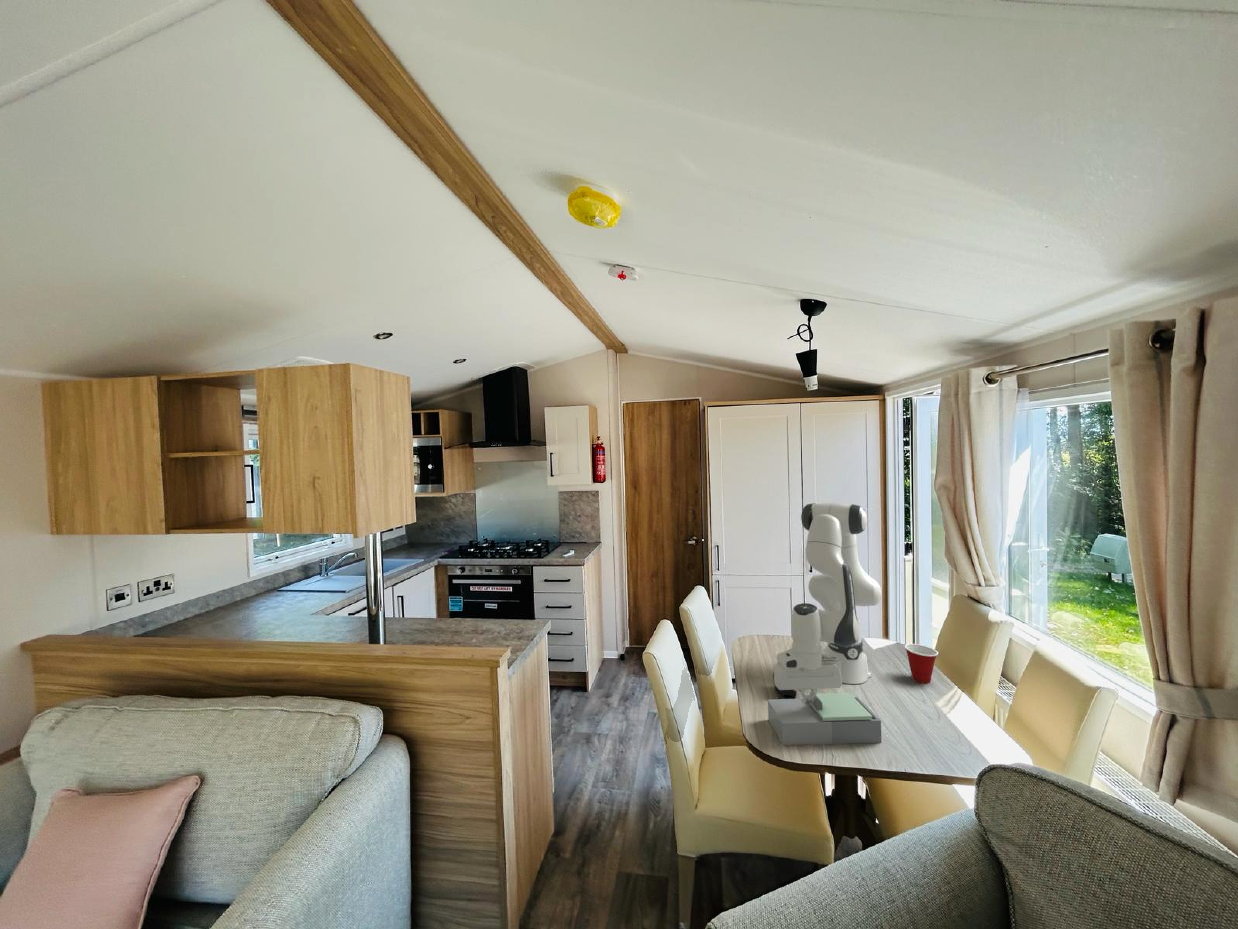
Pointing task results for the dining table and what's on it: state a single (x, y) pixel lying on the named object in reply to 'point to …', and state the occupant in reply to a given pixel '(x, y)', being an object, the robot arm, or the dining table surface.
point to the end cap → (785, 692)
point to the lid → (839, 707)
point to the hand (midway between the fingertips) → (808, 701)
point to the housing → (818, 725)
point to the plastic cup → (921, 661)
